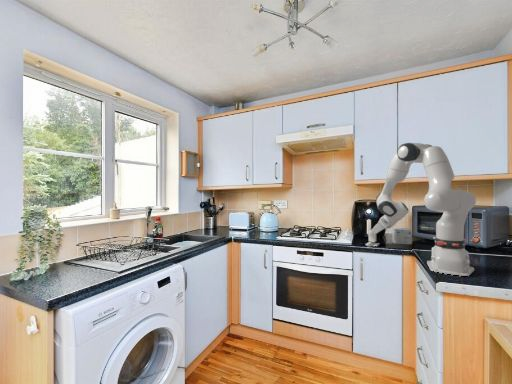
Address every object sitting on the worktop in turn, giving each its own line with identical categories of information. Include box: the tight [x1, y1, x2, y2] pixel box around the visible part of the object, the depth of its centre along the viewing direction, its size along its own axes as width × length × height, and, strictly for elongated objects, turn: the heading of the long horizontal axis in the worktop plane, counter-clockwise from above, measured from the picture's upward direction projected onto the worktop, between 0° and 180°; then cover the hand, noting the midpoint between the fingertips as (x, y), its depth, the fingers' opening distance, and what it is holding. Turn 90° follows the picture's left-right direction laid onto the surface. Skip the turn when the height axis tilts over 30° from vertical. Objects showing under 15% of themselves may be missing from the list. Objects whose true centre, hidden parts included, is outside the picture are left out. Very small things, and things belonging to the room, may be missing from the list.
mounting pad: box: [365, 241, 380, 247], centre depth 173 cm, size 9×7×1 cm
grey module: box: [367, 228, 377, 243], centre depth 173 cm, size 4×4×8 cm
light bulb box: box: [391, 227, 413, 245], centre depth 176 cm, size 11×7×11 cm, turn 84°
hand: (371, 234), depth 174 cm, fingers closed on grey module, 4 cm apart
